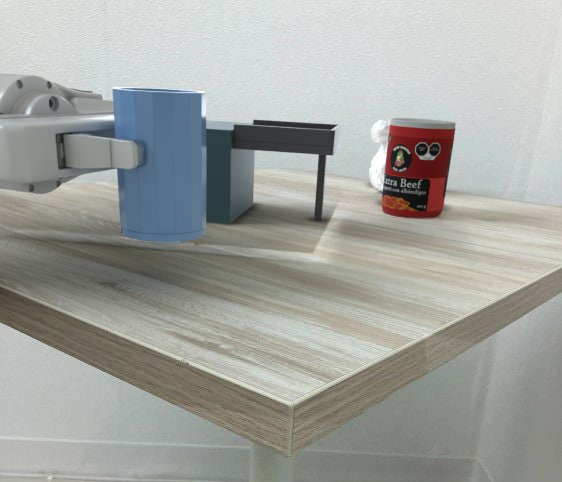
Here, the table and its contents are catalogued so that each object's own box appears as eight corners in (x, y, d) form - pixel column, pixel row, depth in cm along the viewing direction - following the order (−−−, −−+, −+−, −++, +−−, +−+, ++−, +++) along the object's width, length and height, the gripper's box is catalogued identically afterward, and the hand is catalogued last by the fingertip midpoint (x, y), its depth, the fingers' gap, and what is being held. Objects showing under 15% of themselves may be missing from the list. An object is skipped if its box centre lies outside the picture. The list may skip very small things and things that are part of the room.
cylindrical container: (107, 238, 47) (97, 88, 43) (138, 220, 53) (132, 87, 48) (192, 245, 46) (190, 93, 42) (214, 227, 52) (215, 91, 48)
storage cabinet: (137, 225, 68) (132, 118, 64) (173, 205, 79) (171, 113, 74) (325, 241, 65) (334, 131, 61) (335, 218, 76) (343, 124, 72)
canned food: (368, 210, 82) (377, 118, 78) (404, 204, 87) (415, 117, 83) (418, 221, 77) (431, 123, 73) (453, 214, 82) (468, 122, 78)
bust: (398, 201, 103) (363, 138, 102) (440, 175, 99) (404, 109, 98) (373, 212, 93) (334, 143, 92) (418, 184, 89) (378, 111, 88)
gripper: (-102, 92, 41) (70, 106, 37) (101, 91, 58) (236, 101, 54) (-83, 192, 44) (80, 218, 39) (106, 164, 61) (235, 179, 56)
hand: (172, 150), depth 47 cm, fingers closed on cylindrical container, 6 cm apart
